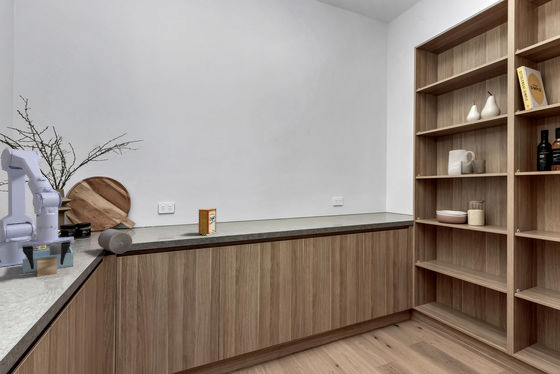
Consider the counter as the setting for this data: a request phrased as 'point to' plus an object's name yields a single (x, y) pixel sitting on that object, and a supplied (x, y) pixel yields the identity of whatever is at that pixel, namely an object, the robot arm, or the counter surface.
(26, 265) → the tote
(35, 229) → the supplement bottle
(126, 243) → the pillar candle
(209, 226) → the baking soda box
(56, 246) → the grey cylinder
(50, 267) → the oak block
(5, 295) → the counter surface
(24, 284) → the counter surface
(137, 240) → the counter surface
